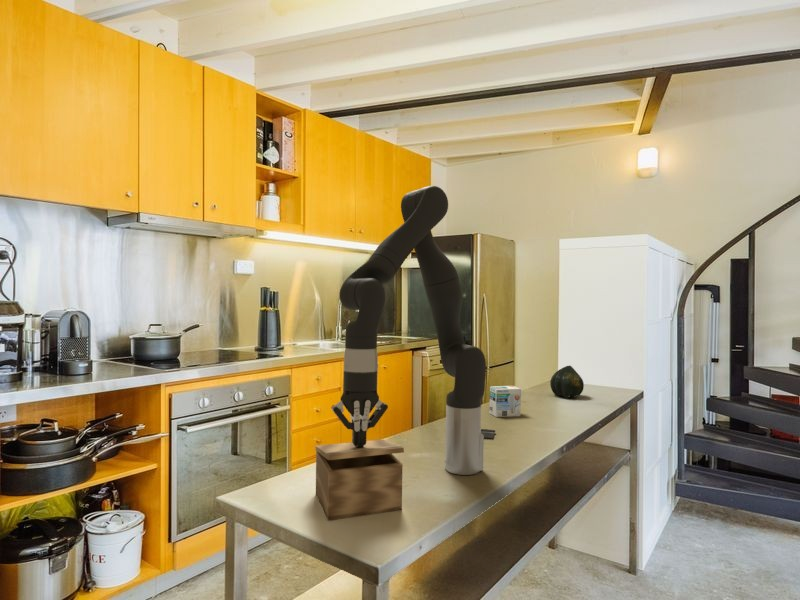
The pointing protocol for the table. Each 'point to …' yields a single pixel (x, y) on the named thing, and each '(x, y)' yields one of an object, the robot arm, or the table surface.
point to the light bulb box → (505, 401)
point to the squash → (567, 383)
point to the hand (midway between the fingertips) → (358, 447)
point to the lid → (358, 449)
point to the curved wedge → (488, 433)
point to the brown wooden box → (358, 485)
